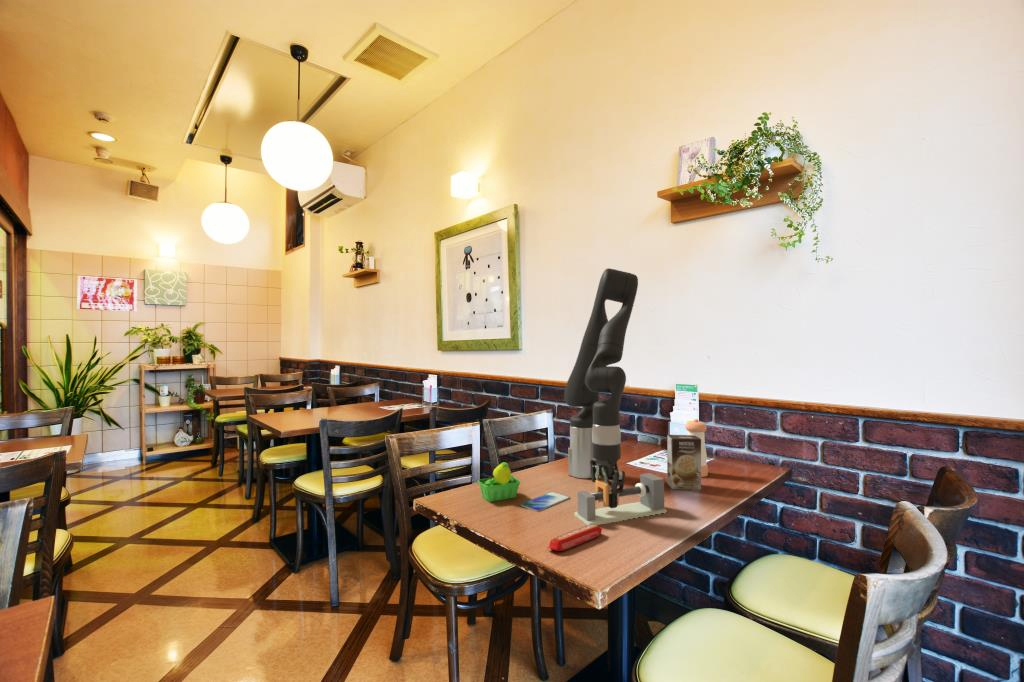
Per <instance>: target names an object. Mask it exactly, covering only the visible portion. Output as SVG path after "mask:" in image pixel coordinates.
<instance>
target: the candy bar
mask: <svg viewBox="0 0 1024 682" xmlns="http://www.w3.org/2000/svg"><path fill="white" fill-rule="evenodd" d="M602 531H603V527H601V526H600V525H586V526H583V527H581V528H577V529H575V530H572V531H570V532H567V533H564V534H562V535H559V536H557V537H554V538H552V539H551V540H550V542H549V544H548V546H547V549H550V550H551V549H552V550H551V551H554V550H555V552H556V551H557V552H561V551H566V550H568V549H571V548H574V547H576V546H578V545H581V544H583V543H585V542H588V541H590V540H592V539H595V538H596V537H597V538H598V537H599V536H601V534H602Z"/></svg>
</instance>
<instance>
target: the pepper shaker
mask: <svg viewBox="0 0 1024 682" xmlns="http://www.w3.org/2000/svg"><path fill="white" fill-rule="evenodd" d="M685 429H686V431H687V435H695V436H697V437H699V438H700V439H701V478H703V477H704V478H705V477H707V476H708V475H709V471H708V469H709V466H708V464H707V462H708V461H707V459H708V458H707V450H706V444H705V442H706V441H705V435H706V434H705V432H706V431H707V429H708V426H707V425H706V422H705V423H704V422H703V421H699V419H698V418H695V419H693V420H690V421H688V422H686V424H685Z"/></svg>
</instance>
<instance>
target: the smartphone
mask: <svg viewBox="0 0 1024 682" xmlns="http://www.w3.org/2000/svg"><path fill="white" fill-rule="evenodd" d="M570 499H571V497H570V496H568V495H565V494H562V493H559V492H555V491H550V492H548V493H545V494H542V495H540V496H537V497H535V498H533V499H530V500H527V501H524V502H522V503H520V507H522V508H525V509H527V510H531V511H533V512H537V513H539V512H543V511H545V510H547V509H549V507H550V508H552V507H554V506H556V504H557V505H558V503H559V504H561V503H563V501H564V502H565V500H566V501H568V500H570ZM551 506H552V507H551ZM544 509H545V510H544Z"/></svg>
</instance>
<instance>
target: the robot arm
mask: <svg viewBox="0 0 1024 682" xmlns="http://www.w3.org/2000/svg"><path fill="white" fill-rule="evenodd" d="M638 287H639V277H638V276H637V274H634V273H631V272H626V271H622V270H618V269H615V268H614V269H613V268H605V269H604V271H603V272H602V274H601V276H600V279H599V282H598V286H597V291H596V295H595V298H594V302H593V307H592V310H591V314H590V317H589V320H588V323H587V324H586V325H587V326H586V328H585V331H584V333H583V336H582V339H581V340H582V341H581V344H580V348H579V350H578V354H577V358H576V361H575V364H574V366H573V369H572V371H571V372H570V375H569V377H568V380H567V382H566V386H565V388H564V402H565V403H566V404H567V406H569V407H572V408H573V407H575V408H581V407H582V408H581V410H580V411H579V412H577V414H574V415H572V416H571V417H570V418H569V447H568V451H567V452H568V454H567V455H568V456H567V457H568V460H567V461H568V476H570V477H574V478H578V479H591V481H592V483H595V480H605V484H606V485H608V491H609V507H610V508H616V507H617V505H618V501H617V500H618V499H617V495H618V493H623V488H625V487H624V485H625V479H626V478H625V477H626V473H625V470H619V465H618V462H619V460H620V459H621V457H622V453H621V452H622V451H621V449H622V445H621V442H622V440H621V439H622V438H621V434H622V433H621V428H620V427H621V426H620V423H621V421H620V407H621V403H622V402H621V400H622V397H623V394H624V390H625V386H626V382H627V376H626V372H625V371H624V368H622V367H620V366H616V365H615V366H612V365H614V364H617V363H619V362H621V360H622V357H623V355H624V353H623V352H624V344H625V338H626V333H627V329H628V325H629V322H630V318H631V315H632V312H633V307H634V304H635V301H636V297H637V291H638ZM607 300H608V301H611V302H612V301H613V302H617V303H621V304H622V305H621V307H620V309H619V310H618V311H617V313H616V314H615V315H614V316H613V317H612V318H611V319H609V320H608V316H607V310H606V301H607ZM609 365H610V366H609ZM599 393H607V394H608V393H610V396H609V398H608V399H605V400H600V399H599V398H600V397H599ZM609 480H612V481H609ZM612 484H613V489H612V486H611V485H612ZM618 486H619V488H618Z"/></svg>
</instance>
